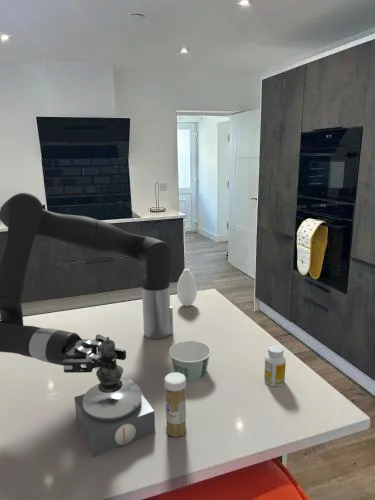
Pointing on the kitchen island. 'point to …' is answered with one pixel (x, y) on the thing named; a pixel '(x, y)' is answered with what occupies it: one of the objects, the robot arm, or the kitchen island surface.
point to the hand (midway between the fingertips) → (120, 359)
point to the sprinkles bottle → (175, 404)
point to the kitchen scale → (115, 427)
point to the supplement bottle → (275, 366)
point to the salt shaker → (109, 370)
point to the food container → (190, 358)
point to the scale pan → (112, 402)
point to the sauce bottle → (186, 288)
